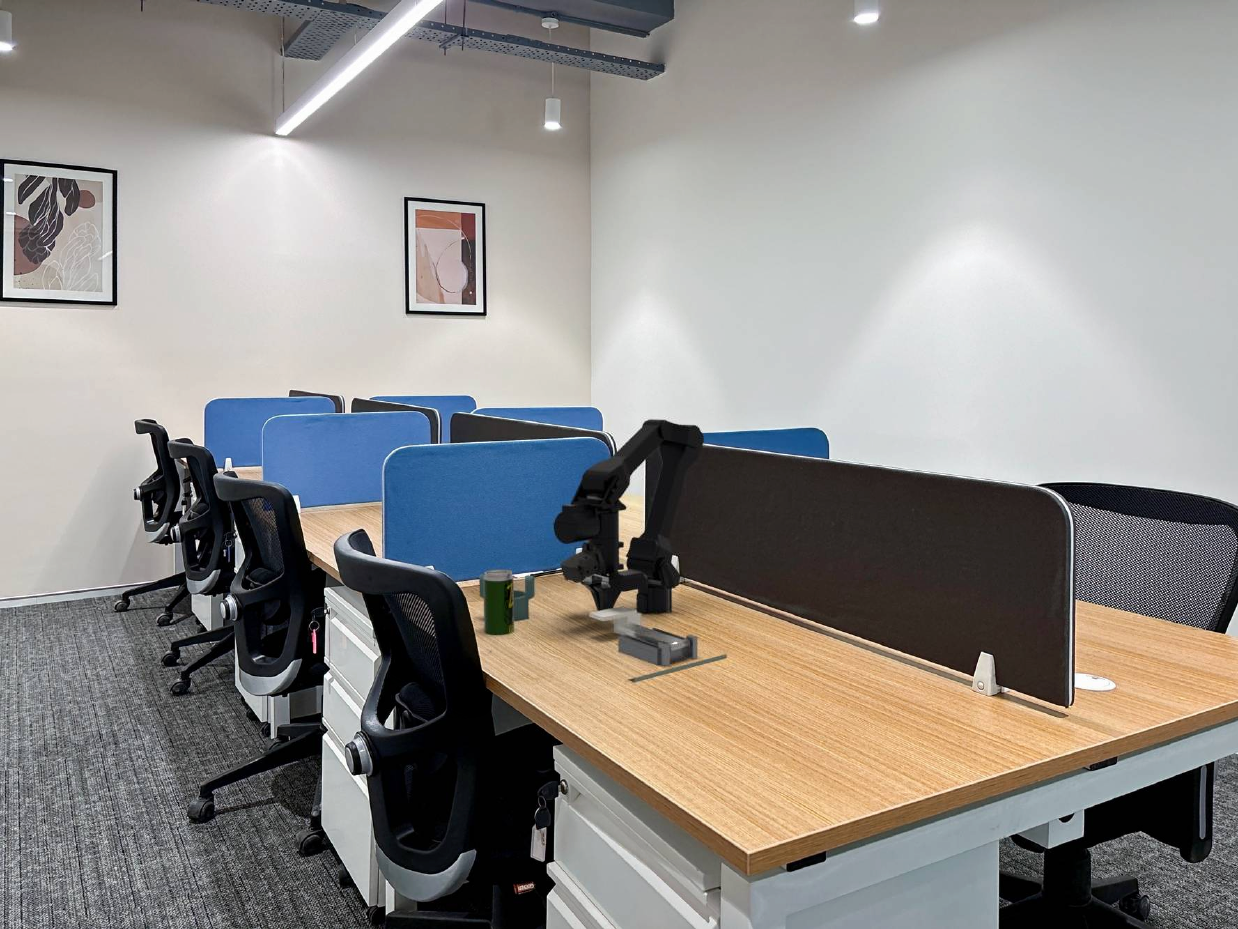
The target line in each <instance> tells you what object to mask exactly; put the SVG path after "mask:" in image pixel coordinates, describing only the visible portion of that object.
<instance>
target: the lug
mask: <svg viewBox="0 0 1238 929" xmlns="http://www.w3.org/2000/svg"><path fill="white" fill-rule="evenodd" d="M588 614H589V615H588V616H589V618H592V619H595V620H599V621H601V622H606V621H611V620H613V633H614V634H618V635H619V636H620V635H622V636H623V635H625V634H626V635H629V636H632V637H634V636H633V635H631V634H628V633H625V632H622V631H620V630H617V625H620V624H624V623H629V622H632V623H635V624H637V625H640V626H642V613H639V612H637V609H633V608H630V607H627V606H624V605H622V606H618V607H613V608H611V609H606V610H601V611H591V612H588Z"/></svg>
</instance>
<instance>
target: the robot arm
mask: <svg viewBox="0 0 1238 929" xmlns="http://www.w3.org/2000/svg"><path fill="white" fill-rule="evenodd" d="M704 437H705V436H704V433H703V431H701V428H700V427H699V426H698V425H695V424H679V423H674V422H671V421H669V420H666V419H653V418H649V419H647V420H645V421H644V422H643V423H642V426H641V428H639V429H638V430H637V431H636V433H635V434H633V436H632V437H631V438H630V439H628V440H627V441H626V442H625V443H624V444H623V445H622V447H621V448H619V449H618V450H617V451H616V452H615V453H614V454H613V455H612V456H611V457H609V458H607V459H605V460H601V461H599V462H596V463H595V464H592V465H591V466H590V467H589V468H588V469H586V470H585V472H583V474H582V477H581V480H580V483H579V485H578V487H577V490H576V491H575V493H574V495H573V498H572V499H571V501H570V504H563V505H562V506H561V512H559V513H558V514H557V516H556V517H555V519H554V522H553V533H554V535H555V538H556V539H557V540H558V541H559V542H560V543H562V544H564V545H568V544H574V543H579V542H582V545H581V551H580V552H577V553H575V554H573V555H572V556H569V557H568V558H566V559H564V560H562V561H561V562H560V563H559V565H560V568H561V571H562V577H563V576H564V580H565V581H571V582H573V583H575V584H579V583H580V584H581V585H582V586H583V587H585V588H586V589H588V590H589V592H590V594H591V596H592V598H593V601H594V604H595V607H596V610H597V611H601V610H606V609H611V608H615V607H614V606H616V605H615V604H616V603H617V600H618V598H619V597H620V595H621V593H623V592H624V593H625V592H631V591H636V590H637V593H636V598H635V599H636V610H637V612H638V613H641V615H650V614H656V615H657V614H665V613H668V612H670V613H674V614H677V612H676V611H672V610H673V608H672V607H673V589H676V587H679V585H680V581H681V576H682V575H681V574H680V573H679V571H678V570H677V568H676V567H675V566H674V565H673V563H672V562H673V561H672V560H673V555H674V553H673V548H672V546H671V545H672V544H671V542H670V534H671V531H672V527H673V523H674V520H675V516H676V512H677V508H678V505H679V500H680V496H681V493H682V489H683V487H684V486H683V484H684V482H685V478H686V473H687V470H688V469H689V468H690V467H691V466H692V465H693V464H694V463H695V462H697V460H698V458H699V456H700V453H701V451H702V448H703V445H704V441H705V438H704ZM657 448H658V452H659V456H660V459H661V462H662V464H661V468H660V471H659V476H658V479H657V484H656V487H655V490H654V494H653V498H652V502H651V505H650V509H649V512H648V513H649V514H648V517H647V520H646V523H645V524H646V525H645V527H644V530H643V532H642V534H641V535H640V536H639V537H635V536H633V537H632V538H631V540H630V541H629V542H630V543H629V547H628V551H627V553H626V554H625V557H626V563H625V564H626V568H627V569H625V564H624V563H621V562H620V549H624V548H625V542H624V541H620V512H621V511H626V510H627V506H626V505H625V503H623V502H622V501H621V498H622V497H623V495H624V494H625V492H626V491H627V489H628V488H629V487H630V484H631V477H632V475H633V474H634V472H635V471H636V470H637V469H638V468H639V467H640V466H641V465H642V464H643V463H644V462H645V461H646V460H647V459H648V458H649V457H650V455H652V453H654V452H655V451H656V450H657Z"/></svg>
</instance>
